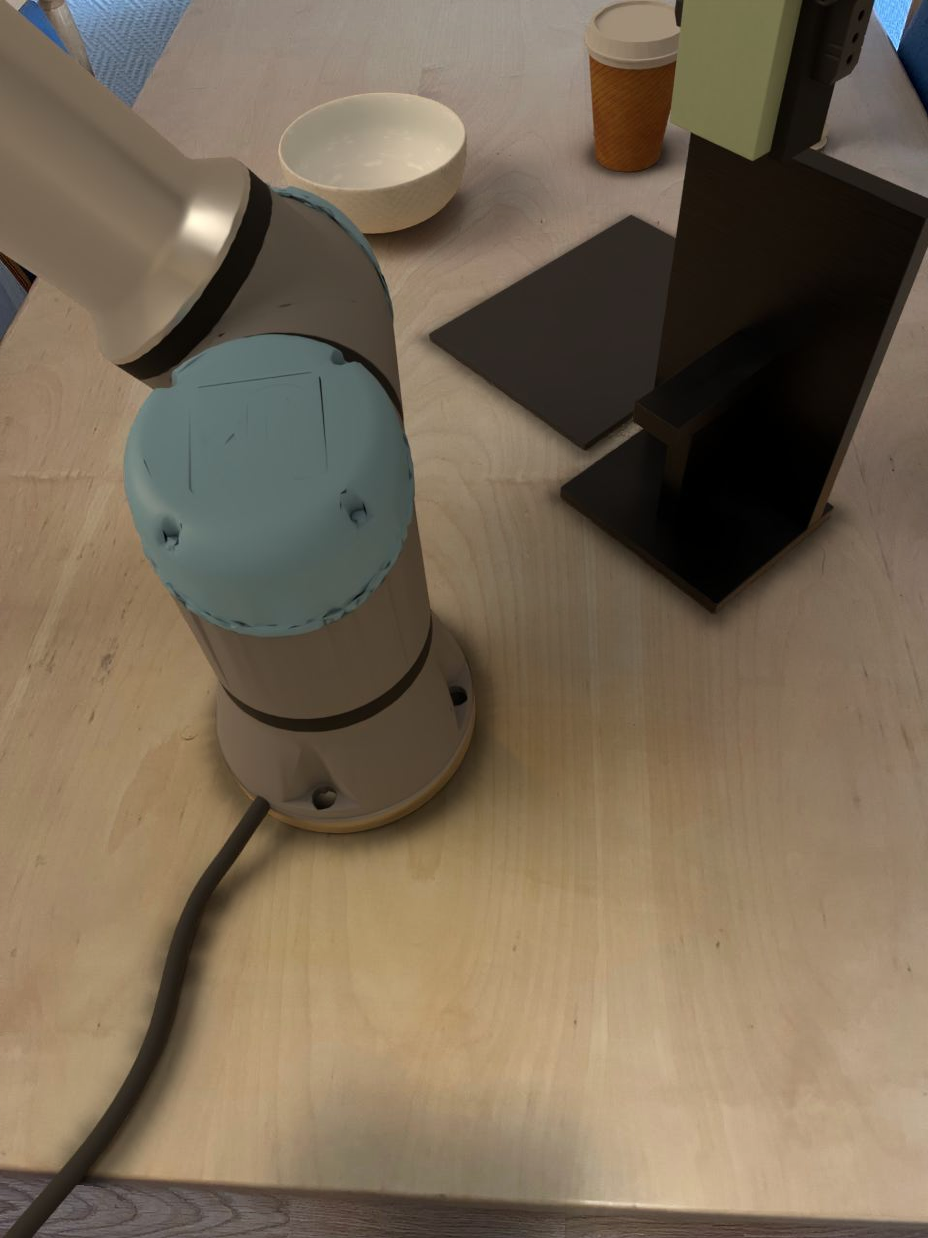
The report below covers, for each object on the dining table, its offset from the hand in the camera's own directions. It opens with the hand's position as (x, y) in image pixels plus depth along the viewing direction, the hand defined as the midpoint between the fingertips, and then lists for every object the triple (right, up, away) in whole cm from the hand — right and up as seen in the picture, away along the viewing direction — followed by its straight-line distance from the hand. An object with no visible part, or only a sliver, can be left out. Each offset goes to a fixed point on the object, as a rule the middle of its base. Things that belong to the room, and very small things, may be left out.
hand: (745, 126), depth 42 cm
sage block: (0, 0, 0) cm, 0 cm away
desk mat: (-1, +2, +33) cm, 33 cm away
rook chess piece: (+20, +24, +47) cm, 56 cm away
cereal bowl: (-21, +16, +44) cm, 51 cm away
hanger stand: (+2, -15, +20) cm, 26 cm away
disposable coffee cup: (+3, +23, +47) cm, 53 cm away
